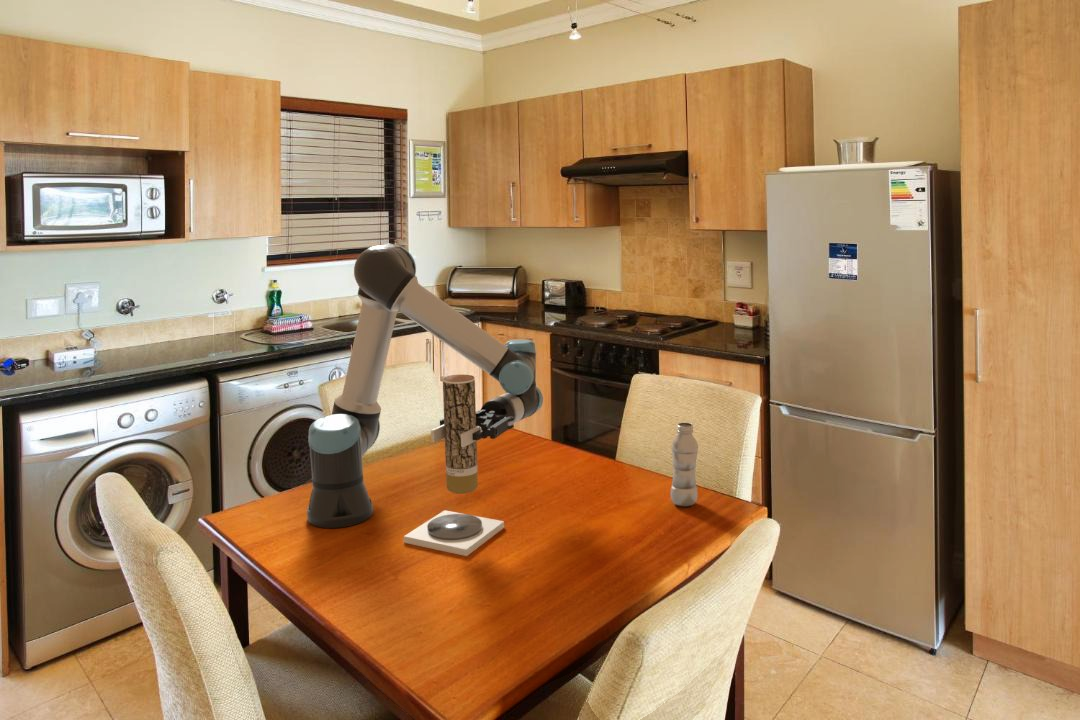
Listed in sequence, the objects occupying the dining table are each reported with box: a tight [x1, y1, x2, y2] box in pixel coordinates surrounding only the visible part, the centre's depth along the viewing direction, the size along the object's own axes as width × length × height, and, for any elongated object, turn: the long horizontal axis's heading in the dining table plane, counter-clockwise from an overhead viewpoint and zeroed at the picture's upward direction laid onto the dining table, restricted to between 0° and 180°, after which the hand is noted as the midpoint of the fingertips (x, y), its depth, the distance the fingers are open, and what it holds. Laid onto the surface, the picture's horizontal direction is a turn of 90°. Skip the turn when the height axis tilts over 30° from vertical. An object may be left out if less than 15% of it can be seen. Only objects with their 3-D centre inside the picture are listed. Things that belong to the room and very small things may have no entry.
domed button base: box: [403, 510, 505, 557], centre depth 169 cm, size 16×16×2 cm
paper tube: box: [442, 374, 479, 495], centre depth 165 cm, size 7×7×25 cm
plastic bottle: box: [670, 422, 699, 507], centre depth 183 cm, size 6×7×20 cm
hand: (447, 438), depth 160 cm, fingers closed on paper tube, 7 cm apart
